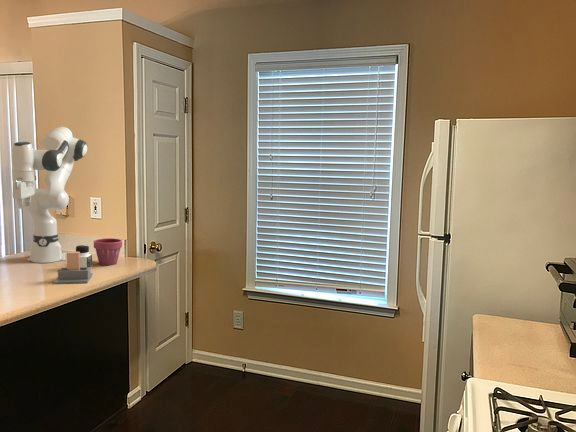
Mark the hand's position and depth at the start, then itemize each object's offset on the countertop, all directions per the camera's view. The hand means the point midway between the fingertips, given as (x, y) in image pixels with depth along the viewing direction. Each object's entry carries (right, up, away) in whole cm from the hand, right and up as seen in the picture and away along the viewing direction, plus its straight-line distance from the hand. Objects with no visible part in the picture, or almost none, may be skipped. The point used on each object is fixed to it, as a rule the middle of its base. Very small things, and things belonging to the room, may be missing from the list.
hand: (24, 207), depth 212 cm
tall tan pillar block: (+22, -33, +3) cm, 40 cm away
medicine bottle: (+17, -31, +23) cm, 42 cm away
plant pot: (+25, -30, +35) cm, 53 cm away
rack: (+22, -34, +3) cm, 40 cm away
